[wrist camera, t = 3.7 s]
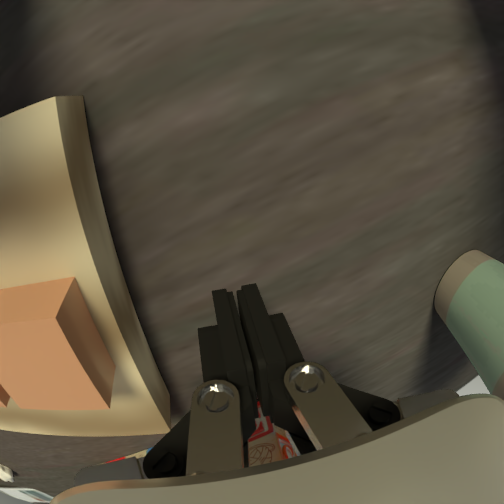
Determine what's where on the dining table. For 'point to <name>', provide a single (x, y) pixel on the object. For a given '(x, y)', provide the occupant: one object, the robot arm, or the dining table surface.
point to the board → (72, 264)
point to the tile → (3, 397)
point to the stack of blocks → (258, 443)
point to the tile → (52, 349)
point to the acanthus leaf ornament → (6, 473)
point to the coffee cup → (476, 313)
